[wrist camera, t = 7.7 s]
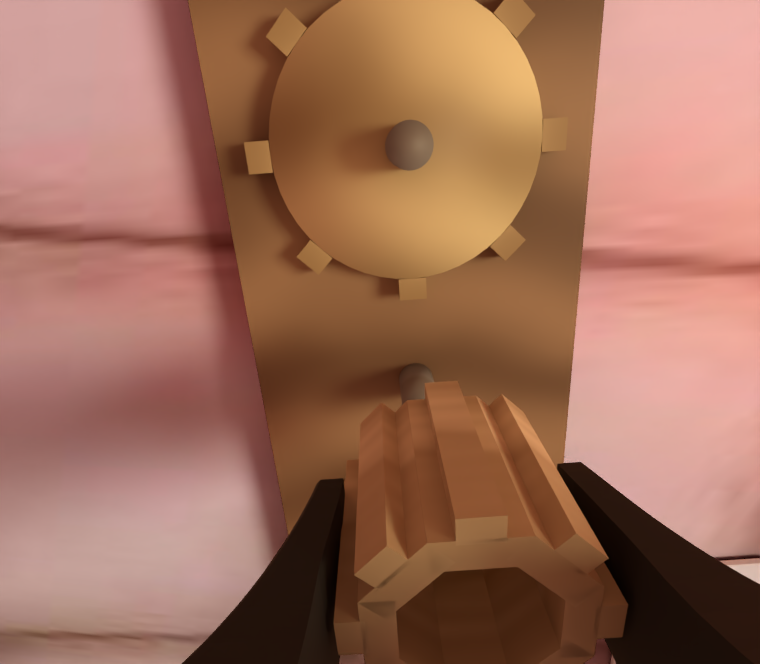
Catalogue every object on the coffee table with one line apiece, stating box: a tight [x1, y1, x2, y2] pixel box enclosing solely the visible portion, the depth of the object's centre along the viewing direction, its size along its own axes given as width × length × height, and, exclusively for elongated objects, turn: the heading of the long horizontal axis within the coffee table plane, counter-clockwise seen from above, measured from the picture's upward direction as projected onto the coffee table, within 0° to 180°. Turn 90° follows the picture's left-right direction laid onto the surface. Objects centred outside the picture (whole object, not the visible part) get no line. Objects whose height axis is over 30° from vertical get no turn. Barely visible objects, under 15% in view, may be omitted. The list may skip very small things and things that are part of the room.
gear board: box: [188, 0, 604, 535], centre depth 19 cm, size 30×13×4 cm, turn 4°
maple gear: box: [334, 381, 628, 664], centre depth 11 cm, size 6×6×5 cm
